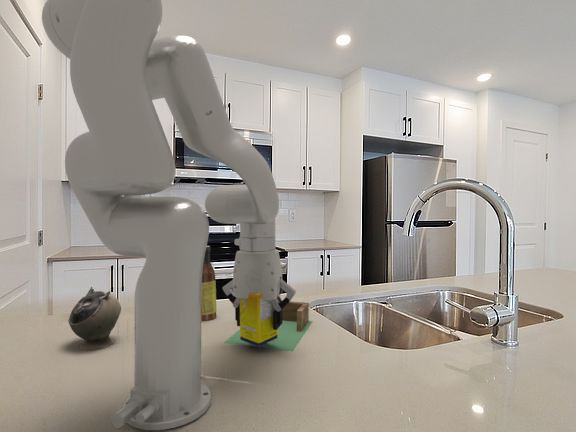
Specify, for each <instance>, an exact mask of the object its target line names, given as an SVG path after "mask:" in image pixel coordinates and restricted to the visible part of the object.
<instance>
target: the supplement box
mask: <svg viewBox="0 0 576 432" xmlns="http://www.w3.org/2000/svg"><path fill="white" fill-rule="evenodd" d="M274 310H275V308H274V306H273V304H272V302H271V301H264V300H263V298H262V294H260V293H249V297H248V299H240V326H239V330H240V340H242V341H245V342H247V343H250V344H253V345H255V346H258V347H257V348H260V347H259V346H261V345H263V344H265V343H267V342H270V341H272V340H274V339H276V338H277V330H274V329H273V311H274Z"/></svg>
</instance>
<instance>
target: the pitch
mask: <svg viewBox="0 0 576 432" xmlns="http://www.w3.org/2000/svg"><path fill="white" fill-rule="evenodd" d="M312 323H313V320H308V323H307V324H306V326H305V327H304V329H303V330H302V332H299V331H297V322H293V321H283V322H282V325H280V327H279V328H278V329H277V338H276V339H274V340H272V341H270V342H267V343H265V344H263V345H261V346H259V347H258V346H255V345H253V344H250V343H247V342H245V341H242V340H240V329H239V330H237V331H236V332H235V333H233V334H232V335H231V336H229V337H228V338H227V339H226V340H224V342H223V343H224V344H229V345H239V346H245V347H246V346H248V347H255V348H263V349H272V350H279V351H280V350H281V351H289V352H294V351H295V349H296V347H297V346H298V344H299V343H300V342H301V340H302V339H303V336H305V334H306V332H307V331H308V329H309V328H310V326H311V325H312Z"/></svg>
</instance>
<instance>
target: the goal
mask: <svg viewBox="0 0 576 432" xmlns="http://www.w3.org/2000/svg"><path fill="white" fill-rule="evenodd" d="M309 306H310V303H309V302H304V301H303V302H300V301H291V300H290V302H289V303H288V304H287V305H286V306H285V307H284V308H283V321H293V322H297V331H299V332H302V330H303V329H304V327H305V326H306V324H307V323H308V321H309V312H310V311H309Z"/></svg>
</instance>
